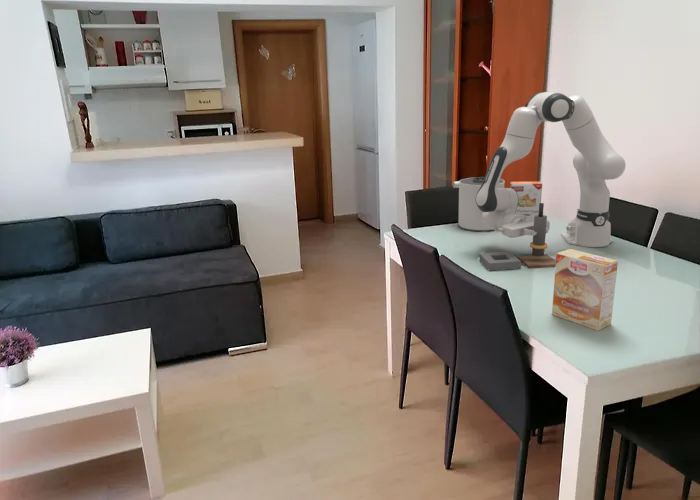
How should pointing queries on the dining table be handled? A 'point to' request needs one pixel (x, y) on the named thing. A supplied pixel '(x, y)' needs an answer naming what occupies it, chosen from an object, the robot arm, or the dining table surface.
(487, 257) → the socket block
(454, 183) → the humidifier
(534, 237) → the plug
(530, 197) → the cracker box
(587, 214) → the robot arm
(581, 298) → the coffeecake box
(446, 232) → the dining table surface
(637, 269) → the dining table surface
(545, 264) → the pad
